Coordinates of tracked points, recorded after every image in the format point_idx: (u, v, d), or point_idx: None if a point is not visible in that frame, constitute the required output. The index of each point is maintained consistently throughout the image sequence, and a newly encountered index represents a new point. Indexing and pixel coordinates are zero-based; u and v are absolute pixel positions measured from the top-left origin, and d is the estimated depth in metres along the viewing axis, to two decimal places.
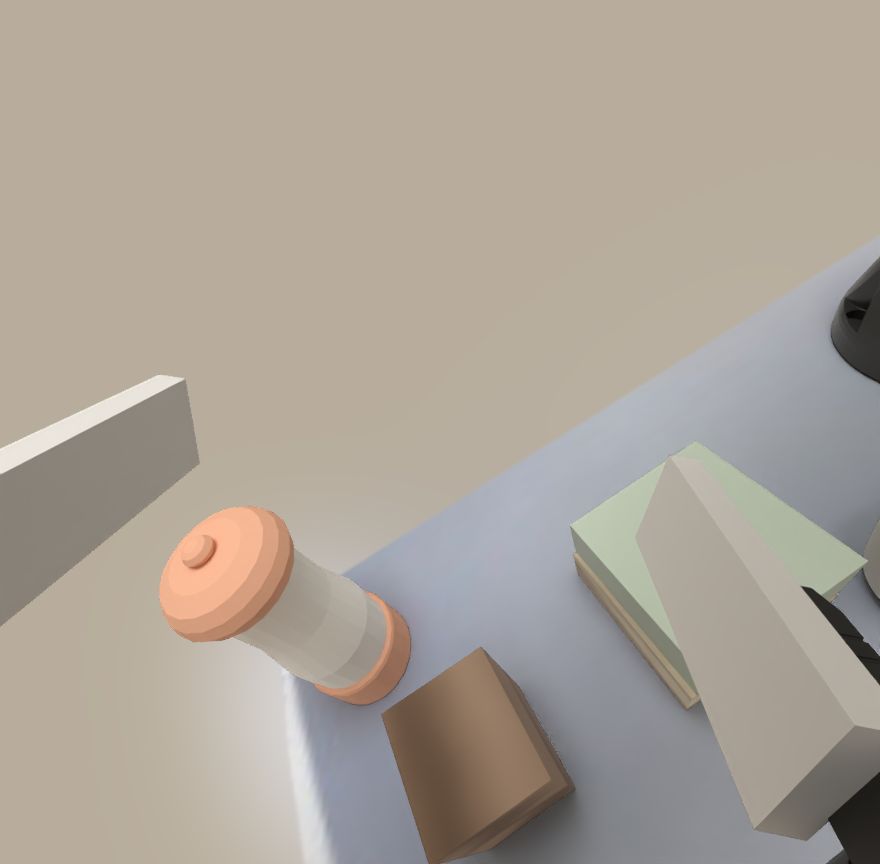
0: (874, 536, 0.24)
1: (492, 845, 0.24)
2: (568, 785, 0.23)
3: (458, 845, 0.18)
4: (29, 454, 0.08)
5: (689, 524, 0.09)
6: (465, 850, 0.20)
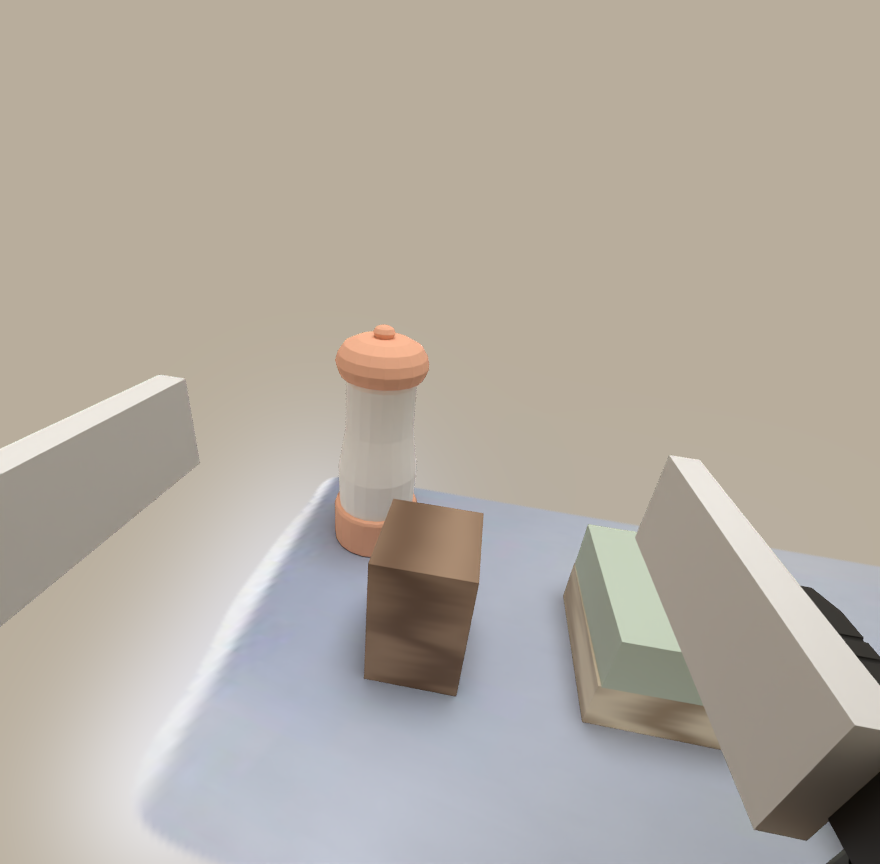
0: None
1: (373, 668, 0.27)
2: (463, 658, 0.26)
3: (393, 568, 0.23)
4: (29, 454, 0.08)
5: (689, 524, 0.09)
6: (380, 603, 0.25)
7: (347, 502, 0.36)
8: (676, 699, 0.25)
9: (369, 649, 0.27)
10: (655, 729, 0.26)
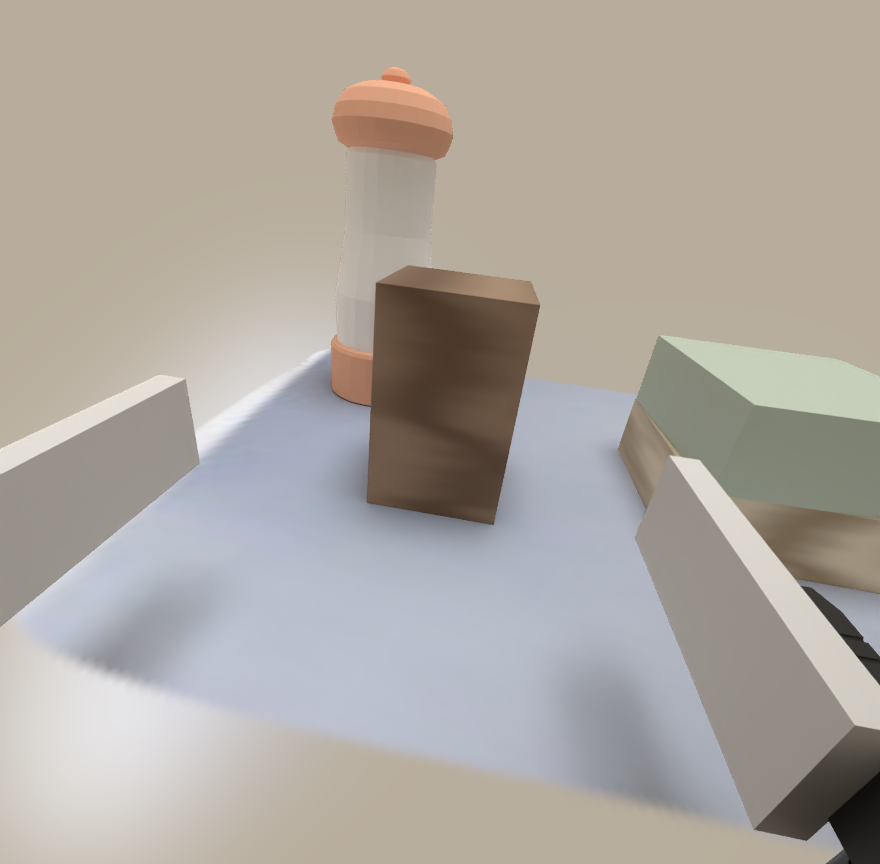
0: None
1: (379, 483, 0.20)
2: None
3: (413, 288, 0.16)
4: (29, 454, 0.08)
5: (689, 524, 0.09)
6: (391, 360, 0.17)
7: (346, 331, 0.29)
8: (817, 509, 0.17)
9: (375, 449, 0.19)
10: None
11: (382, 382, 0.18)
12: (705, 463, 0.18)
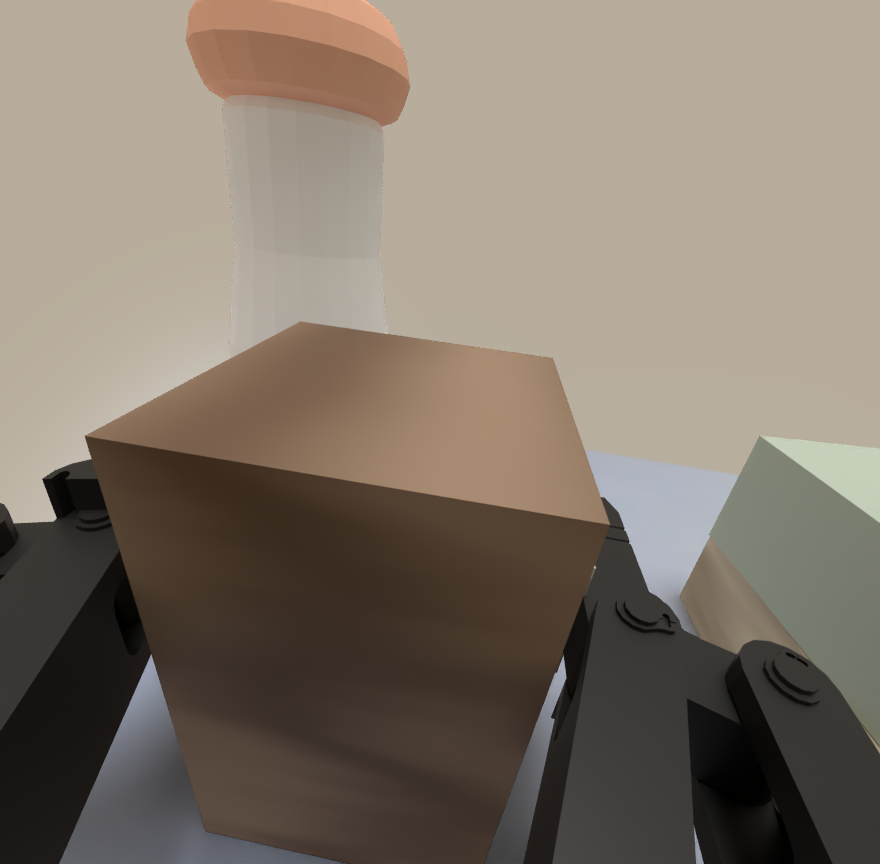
0: None
1: (222, 810, 0.09)
2: None
3: (199, 456, 0.05)
4: None
5: None
6: (187, 618, 0.06)
7: None
8: None
9: (197, 762, 0.08)
10: None
11: (177, 656, 0.07)
12: None
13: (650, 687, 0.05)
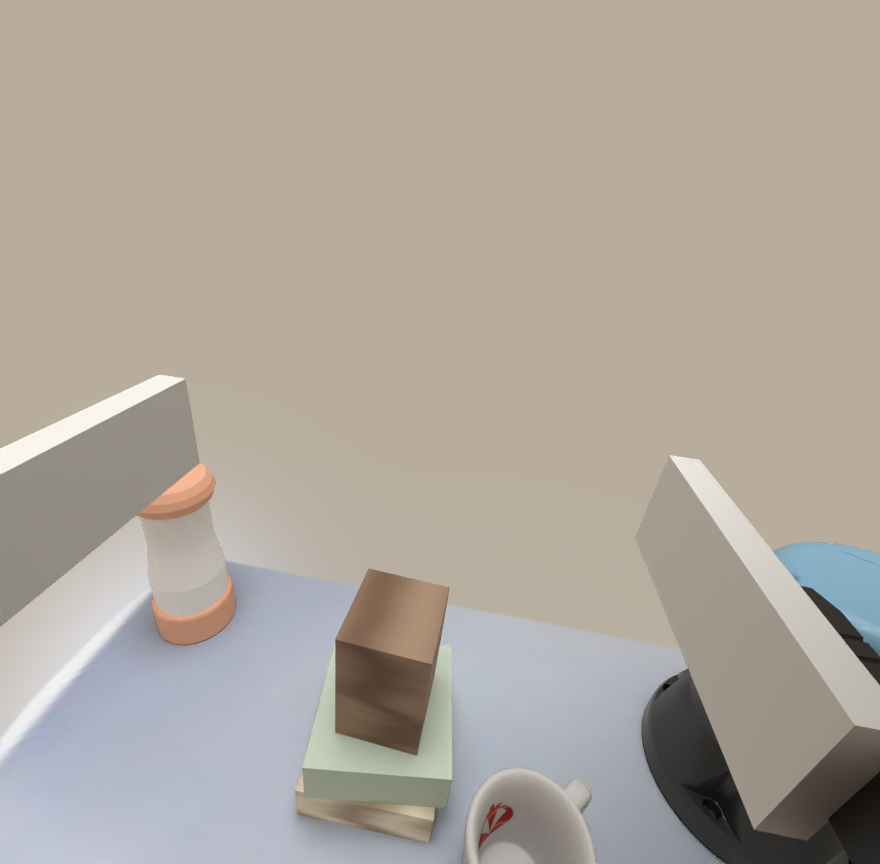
0: None
1: (342, 724, 0.30)
2: (422, 725, 0.28)
3: (357, 645, 0.26)
4: (29, 454, 0.08)
5: (689, 524, 0.09)
6: (346, 672, 0.27)
7: (155, 599, 0.42)
8: (365, 800, 0.31)
9: (338, 709, 0.29)
10: (352, 822, 0.32)
11: (341, 680, 0.28)
12: None
13: None
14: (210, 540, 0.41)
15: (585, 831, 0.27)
